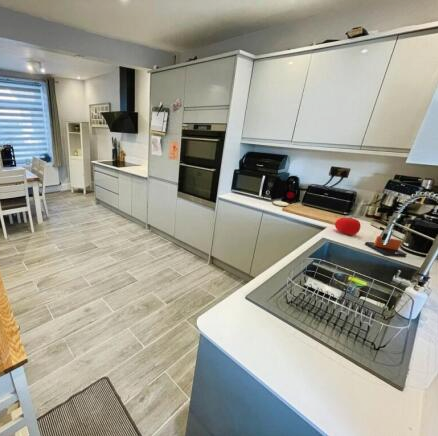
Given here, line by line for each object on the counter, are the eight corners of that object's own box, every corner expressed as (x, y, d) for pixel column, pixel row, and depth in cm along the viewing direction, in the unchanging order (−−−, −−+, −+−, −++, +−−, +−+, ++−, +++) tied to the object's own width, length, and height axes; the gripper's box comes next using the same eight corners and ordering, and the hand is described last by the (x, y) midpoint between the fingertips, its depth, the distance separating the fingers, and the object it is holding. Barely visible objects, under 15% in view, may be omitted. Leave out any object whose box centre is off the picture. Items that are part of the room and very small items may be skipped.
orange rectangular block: (396, 249, 142) (401, 239, 140) (397, 250, 141) (402, 240, 139) (373, 244, 146) (377, 235, 144) (374, 246, 145) (378, 236, 142)
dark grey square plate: (409, 257, 137) (410, 254, 136) (382, 255, 137) (384, 252, 136) (385, 245, 151) (386, 242, 150) (361, 243, 151) (362, 240, 151)
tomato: (351, 238, 159) (358, 222, 155) (329, 230, 171) (334, 215, 167) (361, 235, 165) (367, 220, 161) (339, 228, 176) (344, 213, 172)
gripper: (456, 235, 135) (414, 231, 136) (432, 226, 148) (393, 223, 148) (464, 222, 133) (421, 219, 133) (438, 214, 145) (398, 211, 145)
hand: (406, 221), depth 140 cm, fingers closed
